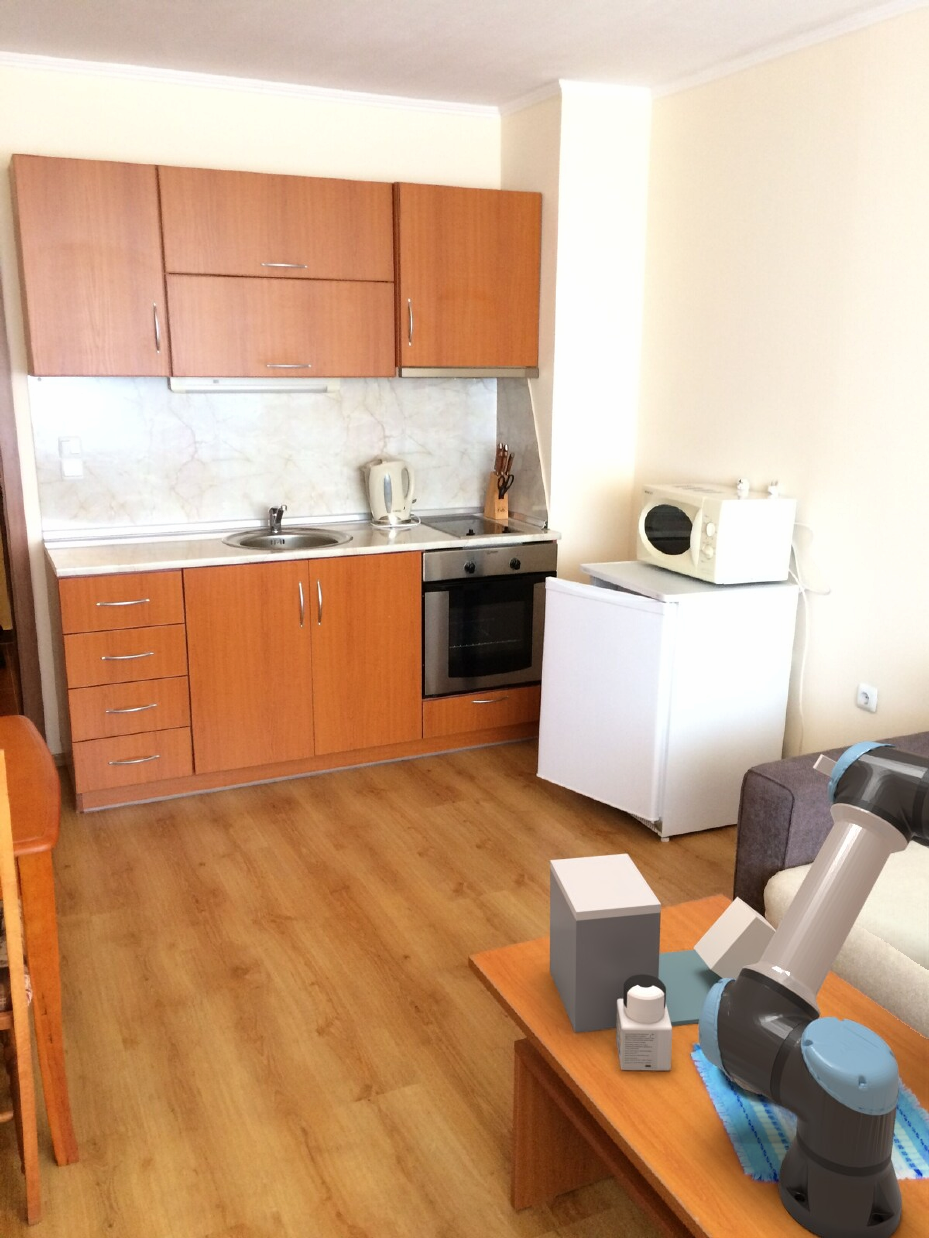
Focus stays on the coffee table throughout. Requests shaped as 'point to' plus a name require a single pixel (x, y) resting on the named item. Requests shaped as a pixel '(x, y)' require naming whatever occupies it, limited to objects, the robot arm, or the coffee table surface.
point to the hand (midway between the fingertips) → (837, 776)
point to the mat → (685, 985)
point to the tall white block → (735, 940)
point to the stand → (600, 935)
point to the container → (643, 1025)
